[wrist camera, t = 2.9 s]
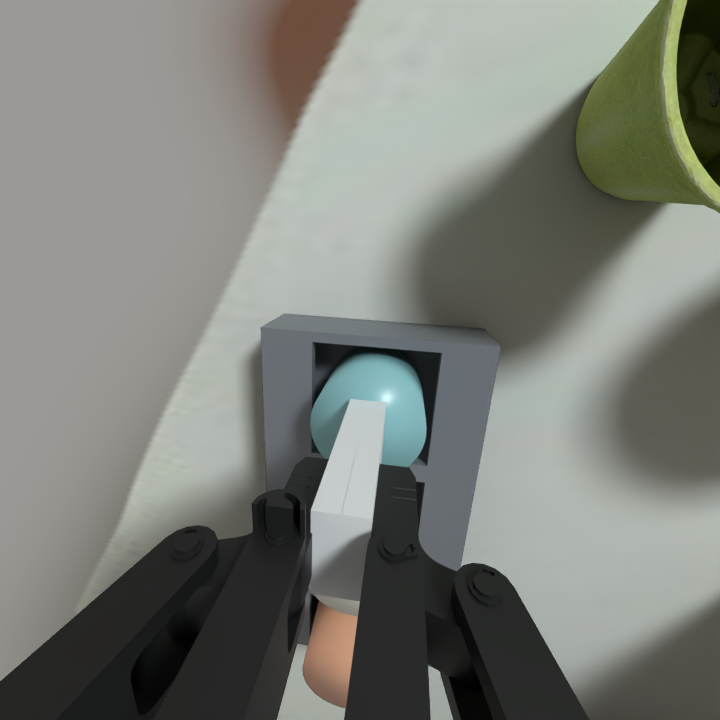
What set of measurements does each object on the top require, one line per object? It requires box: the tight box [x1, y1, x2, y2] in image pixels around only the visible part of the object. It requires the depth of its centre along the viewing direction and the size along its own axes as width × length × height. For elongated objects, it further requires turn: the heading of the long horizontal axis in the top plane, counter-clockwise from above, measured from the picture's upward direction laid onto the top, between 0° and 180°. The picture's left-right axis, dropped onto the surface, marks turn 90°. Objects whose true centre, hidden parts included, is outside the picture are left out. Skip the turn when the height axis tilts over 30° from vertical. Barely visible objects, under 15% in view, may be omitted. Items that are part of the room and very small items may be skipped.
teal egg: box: [310, 346, 427, 467], centre depth 17 cm, size 5×5×4 cm
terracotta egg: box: [303, 600, 358, 708], centre depth 21 cm, size 5×5×4 cm
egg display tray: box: [261, 314, 501, 667], centre depth 21 cm, size 21×11×4 cm, turn 177°
